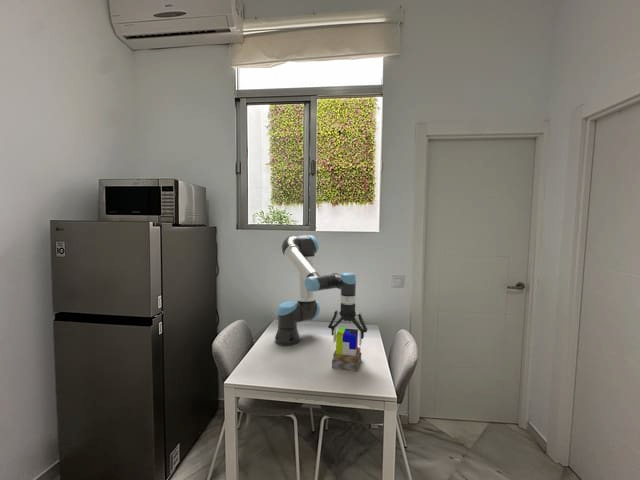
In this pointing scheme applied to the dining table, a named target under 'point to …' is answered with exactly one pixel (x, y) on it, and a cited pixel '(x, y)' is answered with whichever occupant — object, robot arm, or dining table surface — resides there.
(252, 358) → the dining table surface
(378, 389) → the dining table surface
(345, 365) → the plinth
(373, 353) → the dining table surface
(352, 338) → the puzzle toy
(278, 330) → the robot arm
